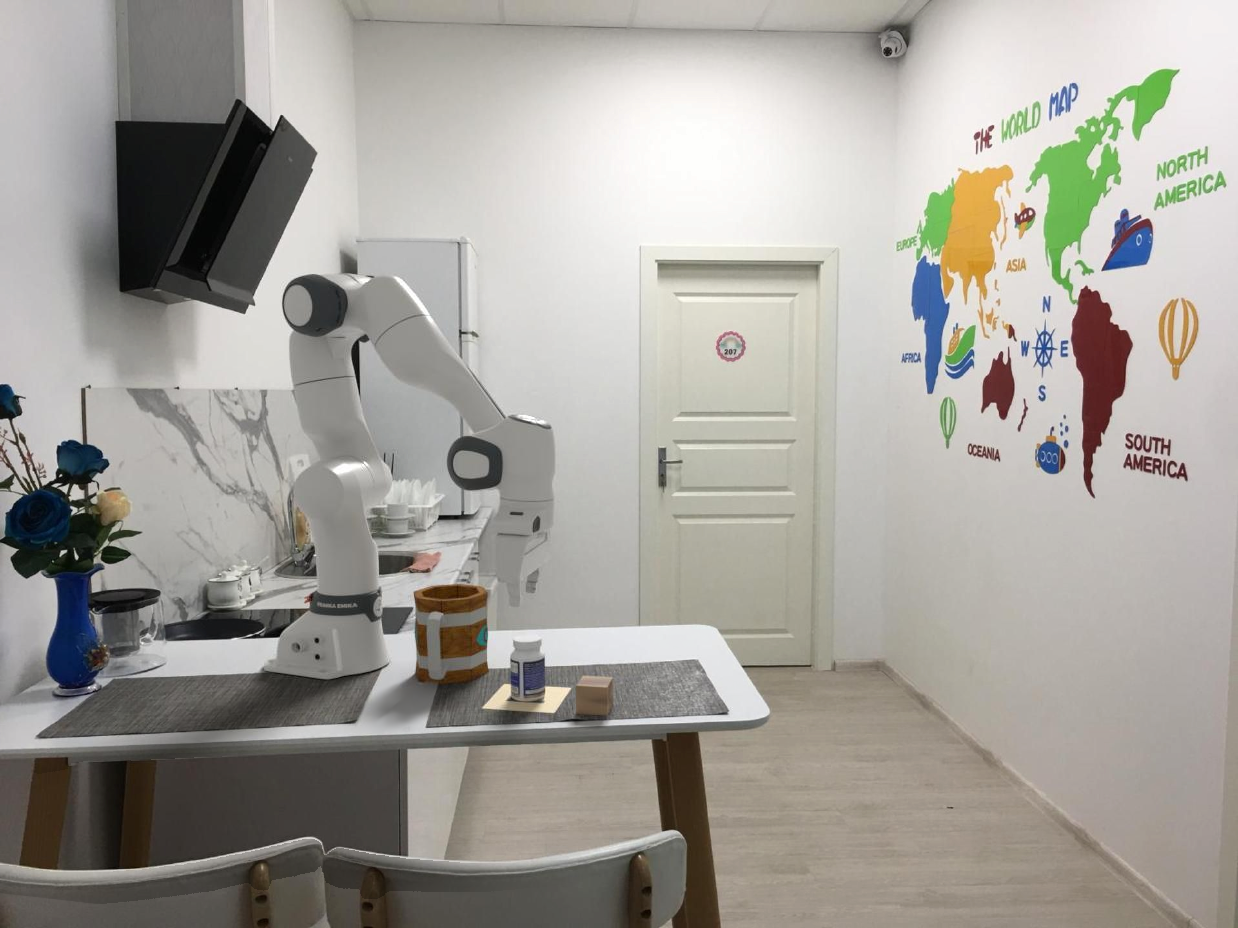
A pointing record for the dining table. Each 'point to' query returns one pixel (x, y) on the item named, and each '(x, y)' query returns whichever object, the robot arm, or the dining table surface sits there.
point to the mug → (451, 633)
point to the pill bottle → (527, 669)
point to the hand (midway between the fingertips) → (523, 598)
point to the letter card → (545, 705)
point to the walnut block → (594, 695)
